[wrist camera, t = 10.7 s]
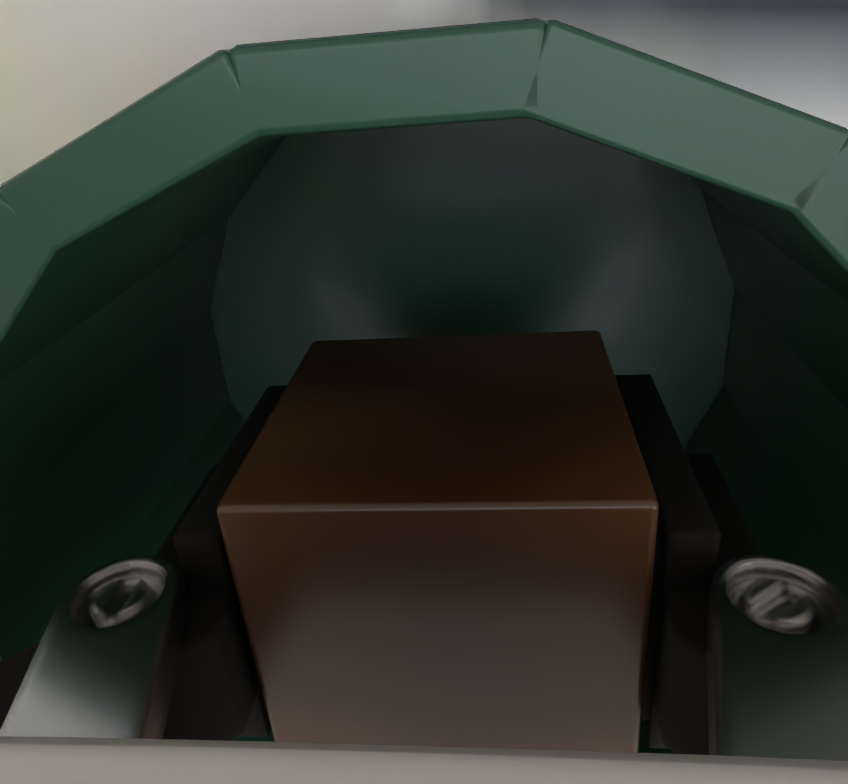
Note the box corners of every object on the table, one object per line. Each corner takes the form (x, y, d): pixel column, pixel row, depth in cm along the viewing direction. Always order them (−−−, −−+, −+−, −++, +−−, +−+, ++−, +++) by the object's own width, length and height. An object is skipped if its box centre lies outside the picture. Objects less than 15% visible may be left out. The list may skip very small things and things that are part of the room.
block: (346, 560, 13) (283, 788, 9) (311, 339, 11) (211, 508, 7) (592, 560, 13) (635, 801, 9) (600, 327, 11) (661, 503, 7)
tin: (249, 559, 20) (83, 919, 12) (130, 57, 14) (-343, 96, 6) (723, 556, 18) (900, 964, 10) (801, -2, 13) (1320, -51, 5)
